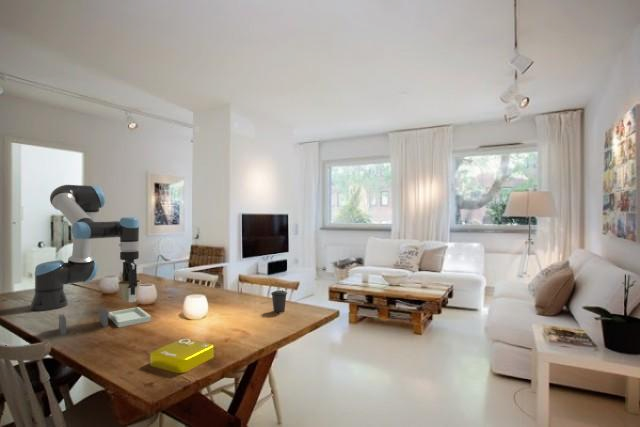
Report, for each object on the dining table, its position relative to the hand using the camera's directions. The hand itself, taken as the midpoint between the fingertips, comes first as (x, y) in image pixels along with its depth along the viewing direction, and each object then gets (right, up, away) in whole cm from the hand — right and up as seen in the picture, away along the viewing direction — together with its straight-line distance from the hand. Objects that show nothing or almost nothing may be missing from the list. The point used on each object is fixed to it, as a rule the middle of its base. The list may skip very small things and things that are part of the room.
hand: (129, 300), depth 157 cm
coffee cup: (+67, -9, +13) cm, 69 cm away
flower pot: (0, -1, 0) cm, 1 cm away
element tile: (+42, -9, -44) cm, 62 cm away
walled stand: (-13, -9, -12) cm, 20 cm away
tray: (0, -9, 0) cm, 9 cm away
